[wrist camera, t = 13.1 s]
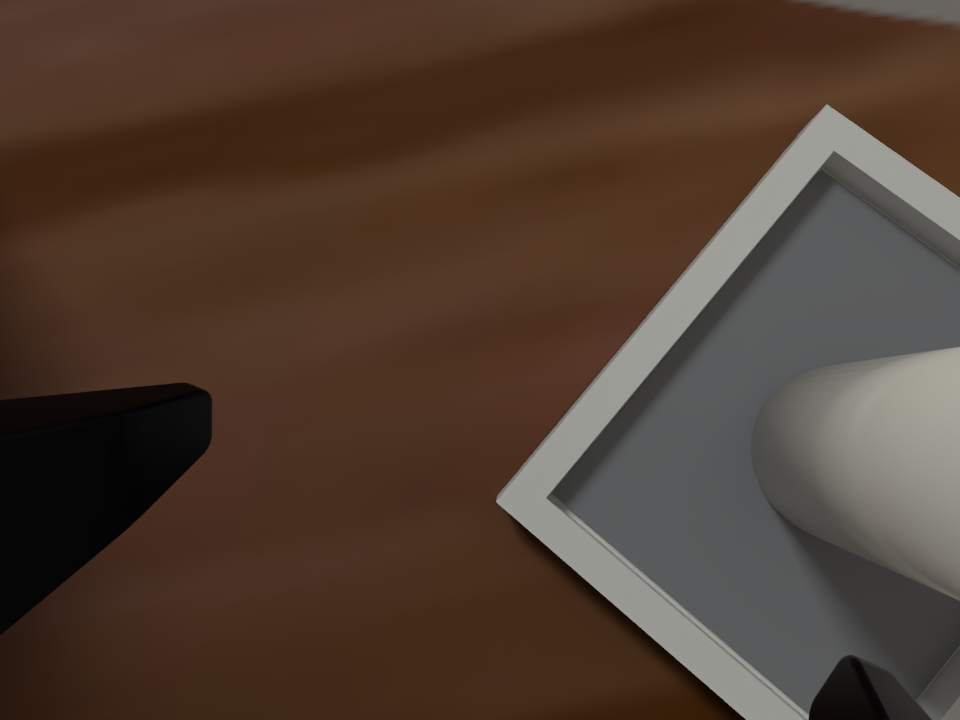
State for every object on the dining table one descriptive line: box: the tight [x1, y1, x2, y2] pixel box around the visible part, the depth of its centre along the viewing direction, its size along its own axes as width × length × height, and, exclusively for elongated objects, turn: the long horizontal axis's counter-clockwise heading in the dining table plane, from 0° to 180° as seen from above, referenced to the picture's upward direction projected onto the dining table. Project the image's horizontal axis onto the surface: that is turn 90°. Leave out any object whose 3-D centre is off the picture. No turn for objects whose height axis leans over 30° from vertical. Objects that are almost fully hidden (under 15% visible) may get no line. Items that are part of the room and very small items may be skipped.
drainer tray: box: [496, 105, 960, 720], centre depth 20 cm, size 18×16×2 cm
